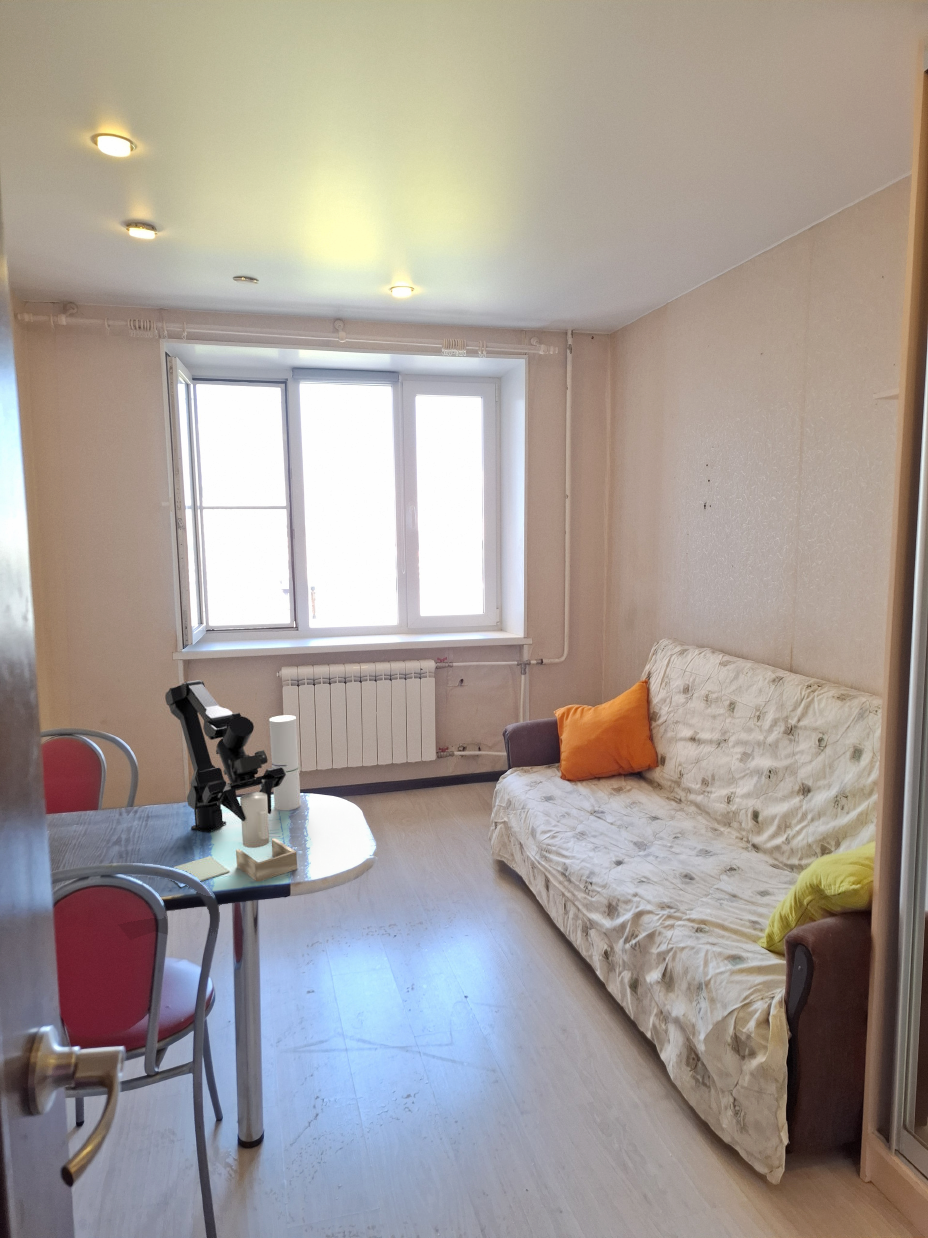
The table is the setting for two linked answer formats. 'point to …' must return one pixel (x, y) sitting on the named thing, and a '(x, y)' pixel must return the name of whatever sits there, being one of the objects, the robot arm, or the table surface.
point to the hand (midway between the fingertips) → (257, 816)
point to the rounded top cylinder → (255, 819)
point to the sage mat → (204, 868)
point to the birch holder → (268, 862)
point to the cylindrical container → (285, 761)
